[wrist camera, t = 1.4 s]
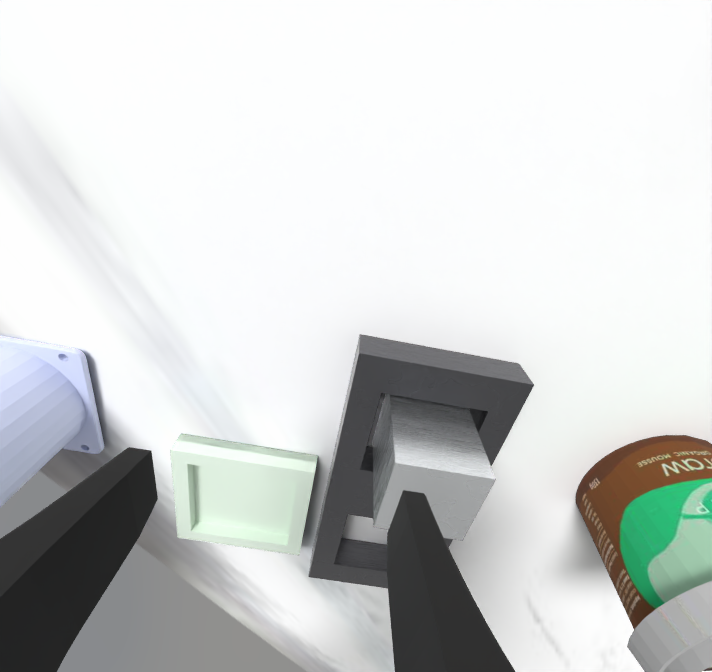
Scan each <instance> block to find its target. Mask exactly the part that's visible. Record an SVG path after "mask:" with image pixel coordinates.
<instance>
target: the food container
mask: <svg viewBox="0 0 712 672" xmlns="http://www.w3.org/2000/svg"><path fill="white" fill-rule="evenodd" d="M576 504H577V506H578V508H579V510H580V513H581V515H582V517H583V519H584V521H585V523H586V526H587V528H588V530H589V532H590V534H591V536H592V539H593V541H594V543H595V545H596V547H597V549H598V552H599V554H600V556H601V558H602V560H603V563H604V565H605V567H606V569H607V571H608V573H609V576H610V578H611V580H612V582H613V584H614V586H615V589H616V591H617V593H618V595H619V597H620V599H621V602H622V604H623V606H624V608H625V610H626V613H627V615H628V617H629V619H630V621H631V623H632V626H633V628H634V631H633V633H632V635H631V637H630V638H629V642H628V646H627V647H628V648H629V650H630V651H631V653H632V654H633V655H634V657H635V658H636V660H637V661H638V662H639V664H640V665H641V667H642V668H643V670H644V671H645V672H702V671H711V670H712V444H711V443H709V442H708V441H706V440H702V439H698V438H694V437H690V436H686V435H665V436H658V437H651V438H647V439H643V440H639V441H637V442H634V443H631V444H628V445H626V446H624V447H622V448H619V449H617V450H615V451H614V452H612V453H610V454H609V455H607V456H605V457H604V458H603V459H601V460H600V461H599V462H597V463H596V464H595V465H594V466H593V467H592V468H591V469H590V470H589V471H588V472H587V474H586V475H585V476H584V477H583V479H582V481H581V483H580V484H579V486H578V490H577V493H576Z"/></svg>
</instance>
